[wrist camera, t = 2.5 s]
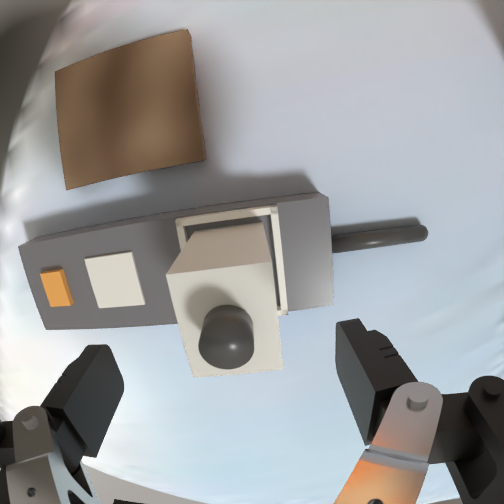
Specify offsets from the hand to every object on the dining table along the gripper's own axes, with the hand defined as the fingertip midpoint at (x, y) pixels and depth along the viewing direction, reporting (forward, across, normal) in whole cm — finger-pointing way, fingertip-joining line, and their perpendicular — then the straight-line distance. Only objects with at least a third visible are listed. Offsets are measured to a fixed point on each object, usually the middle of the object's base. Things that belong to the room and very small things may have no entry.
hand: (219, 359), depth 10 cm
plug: (+9, 0, 0) cm, 9 cm away
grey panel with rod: (+12, +1, 0) cm, 12 cm away
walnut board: (+12, +6, -11) cm, 17 cm away
